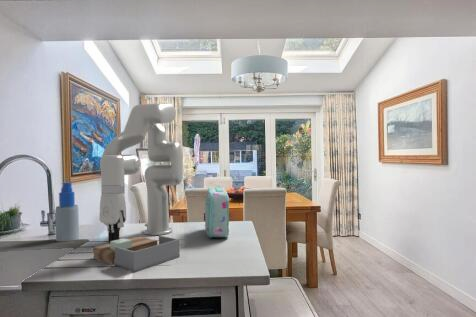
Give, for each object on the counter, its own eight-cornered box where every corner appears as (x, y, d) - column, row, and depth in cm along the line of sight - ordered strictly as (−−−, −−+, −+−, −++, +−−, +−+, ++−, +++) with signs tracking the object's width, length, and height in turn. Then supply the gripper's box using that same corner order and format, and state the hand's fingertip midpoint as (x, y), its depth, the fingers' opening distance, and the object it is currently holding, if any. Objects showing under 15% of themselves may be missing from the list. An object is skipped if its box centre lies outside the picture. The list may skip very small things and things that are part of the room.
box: (114, 265, 99) (113, 246, 99) (159, 251, 114) (159, 235, 114) (134, 272, 93) (133, 252, 93) (179, 256, 107) (179, 239, 107)
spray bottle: (59, 242, 130) (58, 183, 131) (53, 239, 137) (52, 182, 137) (81, 238, 137) (80, 182, 137) (75, 235, 143) (74, 181, 143)
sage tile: (110, 248, 104) (110, 241, 104) (123, 245, 108) (123, 238, 108) (118, 251, 101) (118, 243, 101) (131, 247, 105) (131, 240, 105)
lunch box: (203, 228, 153) (202, 184, 153) (224, 226, 154) (223, 184, 155) (206, 241, 126) (205, 189, 127) (231, 240, 128) (230, 188, 128)
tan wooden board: (93, 258, 107) (93, 246, 107) (138, 246, 122) (138, 236, 122) (112, 264, 100) (112, 252, 100) (157, 251, 114) (157, 240, 114)
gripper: (91, 190, 109) (92, 242, 109) (114, 192, 100) (115, 248, 100) (111, 188, 115) (112, 237, 115) (135, 190, 106) (136, 243, 106)
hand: (114, 242), depth 107 cm, fingers closed
